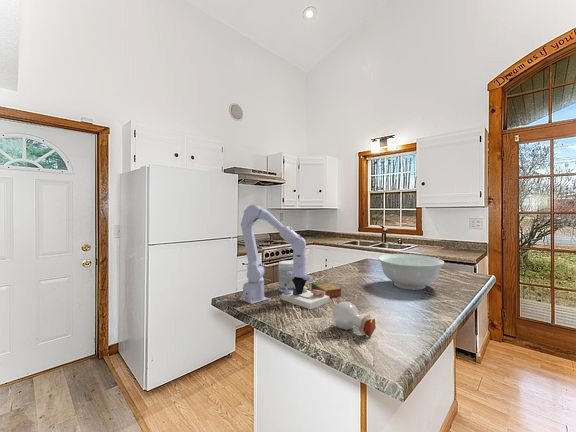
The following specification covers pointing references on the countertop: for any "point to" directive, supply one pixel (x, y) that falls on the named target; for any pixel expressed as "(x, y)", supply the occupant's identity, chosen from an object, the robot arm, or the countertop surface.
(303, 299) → the console
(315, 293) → the rocker
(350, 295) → the countertop surface
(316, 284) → the carton
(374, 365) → the countertop surface
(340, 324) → the potion bottle
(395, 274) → the bowl
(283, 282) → the supplement tub
